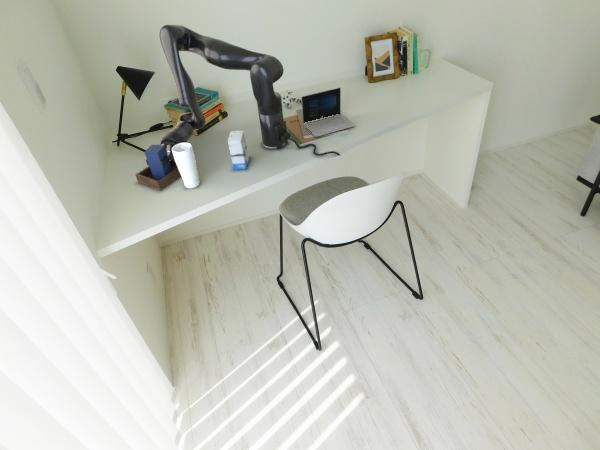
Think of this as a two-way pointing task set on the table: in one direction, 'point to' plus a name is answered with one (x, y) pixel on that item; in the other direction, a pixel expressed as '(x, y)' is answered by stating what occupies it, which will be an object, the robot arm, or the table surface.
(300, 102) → the molecule model
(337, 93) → the laptop
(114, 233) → the table surface
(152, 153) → the carton
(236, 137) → the ink box
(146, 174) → the desk tray
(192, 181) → the drinking glass
